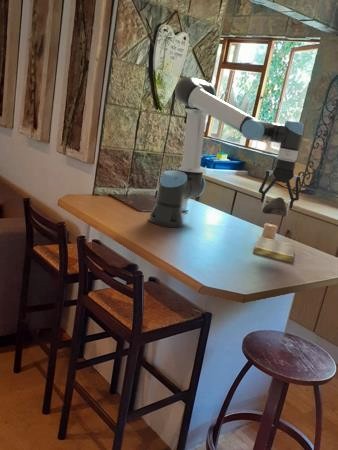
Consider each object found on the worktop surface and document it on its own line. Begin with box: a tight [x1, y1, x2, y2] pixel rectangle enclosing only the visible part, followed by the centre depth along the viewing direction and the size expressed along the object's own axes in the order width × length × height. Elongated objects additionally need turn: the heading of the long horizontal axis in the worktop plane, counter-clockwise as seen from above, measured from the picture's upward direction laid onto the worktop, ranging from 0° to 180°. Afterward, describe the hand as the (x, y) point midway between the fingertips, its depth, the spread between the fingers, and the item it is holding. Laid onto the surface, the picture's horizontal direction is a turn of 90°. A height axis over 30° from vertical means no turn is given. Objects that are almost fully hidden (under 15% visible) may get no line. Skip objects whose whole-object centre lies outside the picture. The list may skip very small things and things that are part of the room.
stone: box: [262, 196, 288, 218], centre depth 184 cm, size 10×8×10 cm
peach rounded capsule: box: [261, 222, 279, 240], centre depth 205 cm, size 6×6×7 cm
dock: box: [252, 235, 295, 263], centre depth 189 cm, size 16×18×3 cm
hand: (274, 212), depth 185 cm, fingers closed on stone, 9 cm apart
